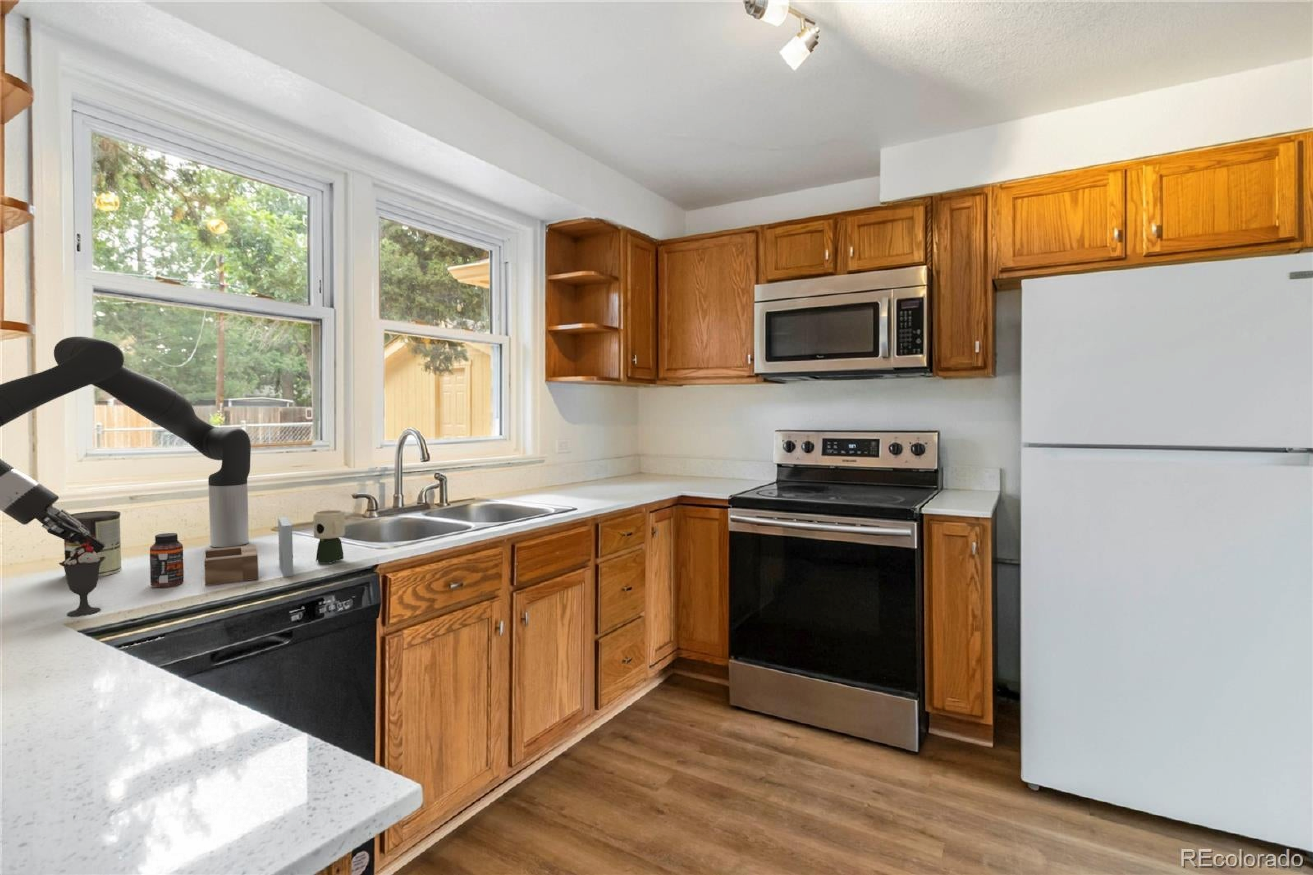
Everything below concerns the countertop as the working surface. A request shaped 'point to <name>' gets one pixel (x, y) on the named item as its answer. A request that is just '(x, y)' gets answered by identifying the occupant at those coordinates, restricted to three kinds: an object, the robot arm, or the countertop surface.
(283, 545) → the board
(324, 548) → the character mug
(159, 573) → the supplement bottle
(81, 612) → the sundae
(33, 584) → the countertop surface
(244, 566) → the walnut u-shaped holder
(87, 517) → the coffee can
